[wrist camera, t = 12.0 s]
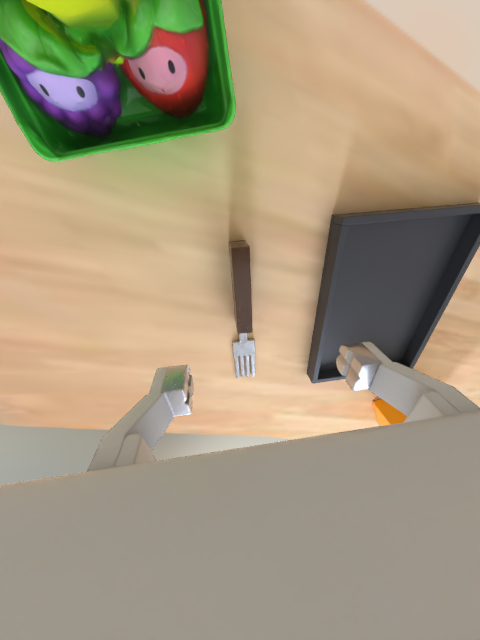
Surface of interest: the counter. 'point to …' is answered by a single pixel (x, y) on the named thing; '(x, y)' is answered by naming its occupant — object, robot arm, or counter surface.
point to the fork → (242, 305)
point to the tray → (389, 281)
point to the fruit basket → (114, 72)
